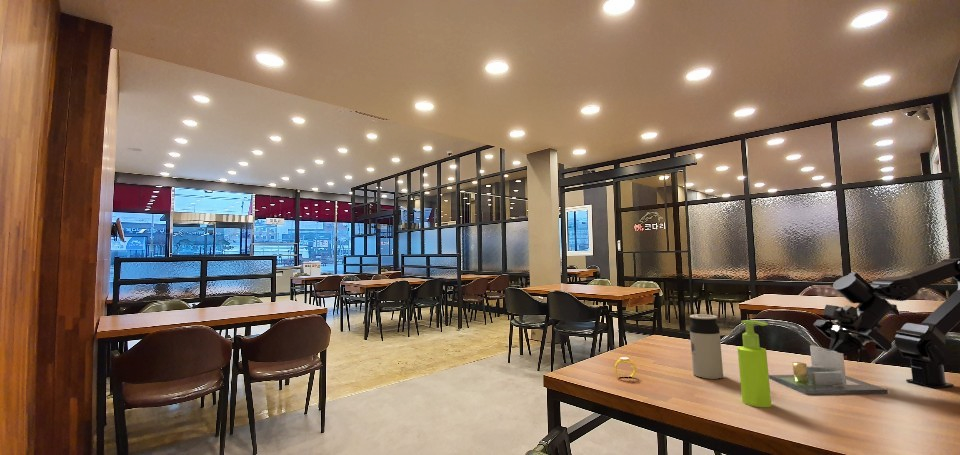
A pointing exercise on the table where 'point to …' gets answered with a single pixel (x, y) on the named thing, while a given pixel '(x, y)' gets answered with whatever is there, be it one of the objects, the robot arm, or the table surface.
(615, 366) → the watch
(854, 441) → the table surface
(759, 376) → the soap dispenser
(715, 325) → the travel mug
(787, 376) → the base
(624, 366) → the table surface
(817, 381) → the grey bracket
